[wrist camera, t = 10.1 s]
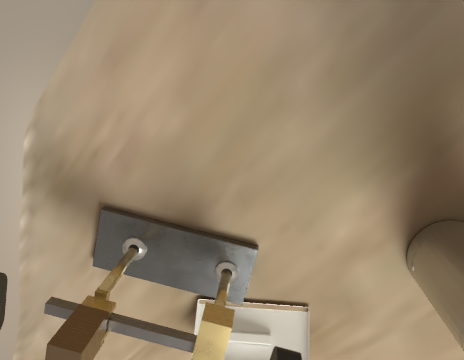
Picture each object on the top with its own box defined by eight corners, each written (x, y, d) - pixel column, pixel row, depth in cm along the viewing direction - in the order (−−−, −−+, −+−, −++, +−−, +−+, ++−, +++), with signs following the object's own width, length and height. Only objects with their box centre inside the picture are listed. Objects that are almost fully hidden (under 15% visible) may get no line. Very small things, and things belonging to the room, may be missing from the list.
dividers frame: (241, 266, 49) (232, 328, 37) (231, 300, 50) (220, 370, 39) (97, 229, 49) (43, 278, 38) (91, 264, 51) (38, 322, 39)
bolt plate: (258, 246, 50) (257, 251, 48) (243, 300, 52) (242, 307, 50) (104, 206, 50) (99, 210, 49) (96, 261, 52) (91, 267, 51)
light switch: (194, 368, 52) (305, 378, 51) (189, 371, 48) (310, 381, 47) (201, 301, 56) (306, 309, 54) (197, 298, 51) (310, 306, 50)
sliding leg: (144, 250, 49) (83, 340, 33) (138, 284, 50) (76, 387, 34) (121, 244, 49) (48, 331, 33) (115, 278, 50) (42, 378, 34)
